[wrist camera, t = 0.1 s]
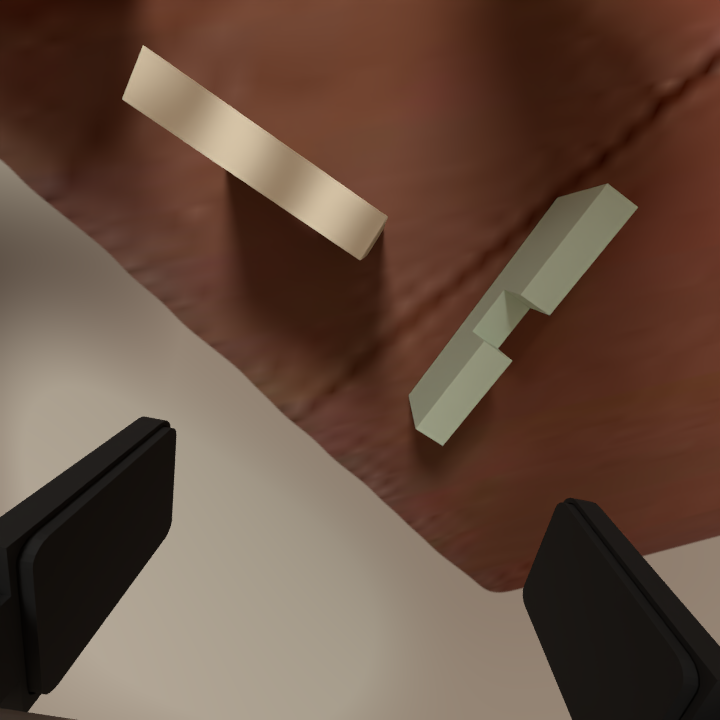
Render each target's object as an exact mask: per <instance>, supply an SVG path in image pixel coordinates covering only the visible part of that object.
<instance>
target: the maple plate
mask: <svg viewBox="0 0 720 720" xmlns="http://www.w3.org/2000/svg"><path fill="white" fill-rule="evenodd" d="M122 100H124V101H125V102H127V103H128V104H130V105H131V106H133V107H134V108H136V109H137V110H139V111H140V112H142V113H143V114H145V115H146V116H147V117H149V118H150V119H152V120H153V121H155V122H156V123H158V124H159V125H161V126H162V127H164V128H165V129H167V130H168V131H170V132H171V133H173V134H174V135H176V136H177V137H178V138H180V139H181V140H183V141H184V142H186V143H187V144H189V145H190V146H192V147H193V148H195V149H196V150H198V151H199V152H201V153H202V154H204V155H205V156H206V157H208V158H209V159H211V160H212V161H214V162H215V163H217V164H218V165H220V166H221V167H223V168H224V169H226V170H227V171H229V172H230V173H232V174H233V175H235V176H236V177H237V178H239V179H240V180H242V181H243V182H245V183H246V184H248V185H249V186H251V187H252V188H254V189H255V190H257V191H258V192H260V193H261V194H263V195H264V196H266V197H267V198H268V199H270V200H271V201H273V202H274V203H276V204H277V205H279V206H280V207H282V208H283V209H285V210H286V211H288V212H289V213H291V214H292V215H294V216H295V217H297V218H298V219H299V220H301V221H302V222H304V223H305V224H307V225H308V226H310V227H311V228H313V229H314V230H316V231H317V232H319V233H320V234H322V235H323V236H325V237H326V238H328V239H329V240H330V241H332V242H333V243H335V244H336V245H338V246H339V247H341V248H342V249H344V250H345V251H347V252H348V253H350V254H351V255H353V256H354V257H356V258H357V259H358V260H362V259H363V258H364V257H366V256H367V255H368V253H369V251H370V250H371V248H372V247H373V245H374V243H375V242H376V240H377V239H378V237H379V236H380V234H381V232H382V231H383V229H384V226H385V223H386V220H387V218H388V217H387V216H386V215H385V214H383V213H382V212H380V211H379V210H377V209H376V208H375V207H373V206H372V205H370V204H369V203H367V202H366V201H365V200H363V199H362V198H360V197H359V196H357V195H356V194H355V193H353V192H352V191H350V190H349V189H347V188H346V187H345V186H343V185H342V184H340V183H339V182H337V181H336V180H335V179H333V178H332V177H330V176H329V175H328V174H326V173H325V172H323V171H322V170H320V169H319V168H318V167H316V166H315V165H313V164H312V163H310V162H309V161H308V160H306V159H305V158H303V157H302V156H300V155H299V154H298V153H296V152H295V151H293V150H292V149H290V148H289V147H288V146H286V145H285V144H283V143H282V142H280V141H279V140H278V139H276V138H275V137H273V136H272V135H271V134H269V133H268V132H266V131H265V130H263V129H262V128H261V127H259V126H258V125H256V124H255V123H253V122H252V121H251V120H249V119H248V118H246V117H245V116H243V115H242V114H241V113H239V112H238V111H236V110H235V109H233V108H232V107H231V106H229V105H228V104H226V103H225V102H223V101H222V100H221V99H219V98H218V97H216V96H215V95H214V94H212V93H211V92H209V91H208V90H206V89H205V88H204V87H202V86H201V85H199V84H198V83H196V82H195V81H194V80H192V79H191V78H189V77H188V76H186V75H185V74H184V73H182V72H181V71H179V70H178V69H176V68H175V67H174V66H172V65H171V64H169V63H168V62H166V61H165V60H164V59H162V58H161V57H159V56H158V55H157V54H155V53H154V52H152V51H151V50H149V49H148V48H147V47H145V46H144V45H143V47H142V49H141V52H140V54H139V57H138V60H137V62H136V65H135V67H134V70H133V72H132V75H131V77H130V80H129V82H128V85H127V88H126V90H125V93H124V95H123V98H122Z"/></svg>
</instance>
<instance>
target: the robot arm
mask: <svg viewBox="0 0 720 720" xmlns="http://www.w3.org/2000/svg"><path fill="white" fill-rule="evenodd" d="M175 451H176V430H175V429H174V428H170V423H169V422H168V421H165V420H160V419H154V418H149V417H141V418H139V419H137V420H136V421H134V422H133V423H132V424H130V425H129V426H128V427H126V428H125V429H123V430H122V431H120V432H119V433H118V434H116V435H115V436H113V437H112V438H111V439H109V440H108V441H106V442H105V443H104V444H102V445H101V446H99V447H98V448H97V449H95V450H94V451H92V452H91V453H90V454H88V455H87V456H85V457H84V458H83V459H81V460H80V461H78V462H77V463H76V464H74V465H73V466H71V467H70V468H69V469H67V470H66V471H64V472H63V473H62V474H60V475H59V476H57V477H56V478H55V479H53V480H52V481H50V482H49V483H47V484H46V485H45V486H43V487H42V488H40V489H39V490H38V491H36V492H35V493H33V494H32V495H31V496H29V497H28V498H26V499H25V500H24V501H22V502H21V503H19V504H18V505H17V506H15V507H14V508H13V509H11V510H10V511H8V512H7V513H5V514H4V515H3V516H1V517H0V720H75V719H68V718H61V717H55V716H48V715H42V714H35V713H29V712H28V711H29V709H30V708H31V707H32V705H33V704H34V703H35V701H36V700H37V699H38V698H39V696H40V695H41V694H48V693H50V692H51V691H52V690H53V689H54V688H55V687H56V686H57V685H58V684H59V682H60V681H61V680H62V678H63V677H64V675H65V674H66V673H67V671H68V670H69V669H70V667H71V666H72V665H73V663H74V662H75V660H76V659H77V658H78V656H79V655H80V653H81V652H82V651H83V650H84V648H85V647H86V645H87V644H88V643H89V641H90V640H91V639H92V637H93V636H94V635H95V633H96V632H97V630H98V629H99V628H100V626H101V625H102V624H103V622H104V621H105V619H106V618H107V617H108V615H109V614H110V613H111V611H112V610H113V608H114V607H115V606H116V604H117V603H118V602H119V600H120V599H121V598H122V596H123V595H124V594H125V592H126V591H127V589H128V588H129V586H130V585H131V584H132V582H133V581H134V580H135V578H136V577H137V576H138V574H139V573H140V572H141V570H142V569H143V567H144V566H145V565H146V563H147V562H148V560H149V559H150V558H151V557H152V555H153V554H154V552H155V551H156V550H157V548H158V547H159V546H160V544H161V543H162V541H163V540H164V539H165V537H166V536H167V534H168V532H169V529H170V526H171V522H172V506H173V489H174V488H173V487H174V469H175ZM523 600H524V604H525V607H526V609H527V612H528V614H529V617H530V619H531V622H532V624H533V626H534V629H535V631H536V634H537V636H538V638H539V641H540V643H541V646H542V648H543V650H544V653H545V655H546V657H547V660H548V662H549V665H550V667H551V670H552V672H553V674H554V677H555V679H556V682H557V684H558V687H559V689H560V691H561V694H562V696H563V698H564V701H565V703H566V706H567V708H568V711H569V713H570V716H571V718H572V720H720V646H719V645H718V644H717V643H716V641H715V640H714V639H713V638H712V637H711V636H710V635H709V633H708V632H707V631H706V630H705V629H704V628H703V626H701V624H700V623H699V622H698V621H697V619H696V618H695V617H694V616H693V615H692V614H691V612H690V611H689V610H688V609H687V608H686V607H685V606H684V604H683V603H682V602H681V601H680V600H679V599H678V597H677V596H676V595H675V594H674V593H673V592H672V590H670V588H669V587H668V586H667V585H666V584H665V582H664V581H663V580H662V579H661V578H660V577H659V575H658V574H657V573H656V572H655V571H654V570H653V568H652V567H651V566H650V565H649V564H648V563H647V561H646V560H645V559H644V558H643V557H642V556H641V554H640V553H639V552H638V551H637V550H636V549H635V548H634V546H633V545H632V544H631V543H630V542H629V541H628V539H627V538H626V537H625V536H624V535H623V534H622V532H621V531H620V530H619V529H618V528H617V527H616V525H615V524H614V523H613V522H612V521H611V520H610V519H609V517H608V516H607V515H606V514H605V513H604V512H603V510H602V509H601V508H600V507H599V506H598V505H597V504H596V503H593V502H589V501H584V500H579V499H573V498H568V499H566V500H565V501H564V502H563V503H559V504H558V505H557V506H556V508H555V511H554V513H553V516H552V518H551V521H550V523H549V526H548V528H547V531H546V533H545V536H544V538H543V540H542V543H541V545H540V548H539V550H538V553H537V555H536V558H535V560H534V563H533V565H532V568H531V570H530V573H529V575H528V578H527V580H526V583H525V585H524V588H523Z"/></svg>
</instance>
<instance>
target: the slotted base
mask: <svg viewBox="0 0 720 720" xmlns="http://www.w3.org/2000/svg"><path fill="white" fill-rule="evenodd" d="M637 208H638V207H637V206H636V205H635V204H633V203H632V202H631V201H630V200H628V199H627V198H626V197H624V196H623V195H622V194H621V193H619V192H618V191H617V190H615V189H614V188H613V187H612V186H610V185H609V184H608V183H607V184H604V185H600V186H596V187H593V188H589V189H586V190H582V191H579V192H575V193H572V194H568V195H565V196H561V197H558V198H557V199H556V200H555V201H554V203H553V204H552V205H551V207H550V208H549V209H548V211H547V212H546V213H545V215H544V216H543V217H542V219H541V220H540V221H539V223H538V224H537V225H536V227H535V228H534V229H533V231H532V232H531V233H530V235H529V236H528V237H527V239H526V240H525V241H524V243H523V244H522V245H521V247H520V248H519V249H518V251H517V252H516V253H515V255H514V256H513V257H512V259H511V260H510V261H509V263H508V264H507V265H506V267H505V268H504V269H503V271H502V272H501V273H500V275H499V276H498V277H497V279H496V280H495V281H494V283H493V284H492V285H491V287H490V288H489V289H488V291H487V292H486V293H485V295H484V296H483V297H482V299H481V300H480V301H479V303H478V304H477V305H476V306H475V308H474V309H473V310H472V312H471V313H470V314H469V316H468V317H467V318H466V320H465V321H464V322H463V324H462V325H461V326H460V328H459V329H458V330H457V332H456V333H455V334H454V336H453V337H452V338H451V340H450V341H449V342H448V344H447V345H446V346H445V348H444V349H443V350H442V352H441V353H440V354H439V356H438V357H437V358H436V360H435V361H434V362H433V364H432V365H431V366H430V368H429V369H428V370H427V372H426V373H425V374H424V376H423V377H422V378H421V380H420V381H419V382H418V384H417V385H416V386H415V388H414V389H413V390H412V392H411V393H410V394H409V400H410V405H411V409H412V414H413V419H414V423H415V428H416V429H417V430H418V431H420V432H421V433H423V434H425V435H426V436H428V437H429V438H431V439H433V440H434V441H436V442H437V443H439V444H441V445H442V446H443V445H444V444H445V443H446V441H447V440H448V439H449V438H450V436H451V435H452V434H453V433H454V432H455V430H456V429H457V428H458V427H459V425H460V424H461V423H462V422H463V421H464V419H465V418H466V417H467V416H468V414H469V413H470V412H471V411H472V410H473V408H474V407H475V406H476V405H477V403H478V402H479V401H480V400H481V399H482V397H483V396H484V395H485V394H486V393H487V391H488V390H489V389H490V388H491V386H492V385H493V384H494V383H495V382H496V380H497V379H498V378H499V377H500V375H501V374H502V373H503V372H504V371H505V369H506V368H507V367H508V366H509V364H510V363H511V362H512V360H511V359H510V358H509V357H507V356H506V355H505V354H504V353H502V352H501V351H500V350H499V349H498V348H499V347H500V345H501V344H502V343H503V342H504V340H505V339H506V338H507V337H508V335H509V334H510V333H511V332H512V330H513V329H514V328H515V327H516V325H517V324H518V323H519V322H520V320H521V319H522V318H523V317H524V315H525V314H526V313H527V311H528V310H529V309H530V308H532V309H534V310H537V311H539V312H542V313H544V314H547V315H550V314H551V313H552V312H553V311H554V309H555V308H556V307H557V306H558V305H559V303H560V302H561V301H562V300H563V298H564V297H565V296H566V295H567V294H568V292H569V291H570V290H571V289H572V288H573V286H574V285H575V284H576V283H577V281H578V280H579V279H580V278H581V277H582V275H583V274H584V273H585V272H586V270H587V269H588V268H589V267H590V266H591V264H592V263H593V262H594V261H595V259H596V258H597V257H598V256H599V255H600V253H601V252H602V251H603V250H604V248H605V247H606V246H607V245H608V244H609V242H610V241H611V240H612V239H613V237H614V236H615V235H616V234H617V233H618V231H619V230H620V229H621V228H622V226H623V225H624V224H625V223H626V222H627V220H628V219H629V218H630V217H631V215H632V214H633V213H634V212H635V211H636V209H637Z"/></svg>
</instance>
